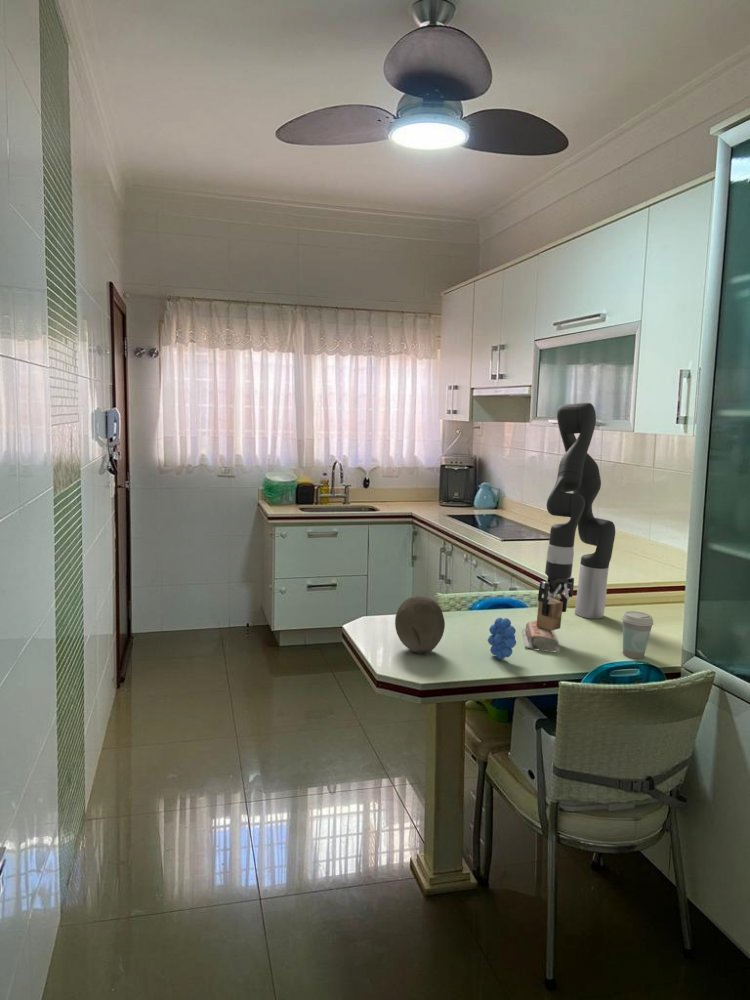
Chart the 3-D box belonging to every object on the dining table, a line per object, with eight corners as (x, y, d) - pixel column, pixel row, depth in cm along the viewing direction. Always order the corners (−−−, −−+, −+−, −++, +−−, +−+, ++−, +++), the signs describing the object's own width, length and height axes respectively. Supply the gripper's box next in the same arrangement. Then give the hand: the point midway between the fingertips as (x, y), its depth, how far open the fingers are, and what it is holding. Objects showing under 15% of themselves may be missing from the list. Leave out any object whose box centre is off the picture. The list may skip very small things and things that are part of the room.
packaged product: (561, 638, 207) (526, 634, 208) (560, 654, 208) (524, 651, 209) (555, 620, 225) (522, 616, 226) (553, 635, 225) (520, 631, 226)
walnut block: (545, 623, 220) (548, 598, 219) (560, 628, 216) (563, 602, 215) (536, 626, 217) (539, 600, 215) (550, 631, 213) (553, 604, 212)
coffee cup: (625, 659, 205) (630, 618, 204) (613, 649, 214) (618, 609, 212) (654, 661, 206) (659, 620, 204) (641, 650, 214) (646, 611, 213)
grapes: (525, 666, 195) (530, 622, 193) (503, 667, 192) (508, 624, 190) (501, 650, 205) (505, 609, 204) (481, 652, 203) (485, 610, 201)
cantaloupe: (453, 653, 200) (458, 600, 198) (417, 663, 191) (422, 608, 189) (417, 638, 211) (421, 588, 208) (381, 647, 201) (385, 594, 199)
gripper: (562, 555, 221) (557, 607, 223) (534, 559, 211) (528, 613, 214) (584, 560, 215) (578, 613, 217) (556, 565, 206) (550, 620, 208)
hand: (553, 613), depth 216 cm, fingers open, 8 cm apart
